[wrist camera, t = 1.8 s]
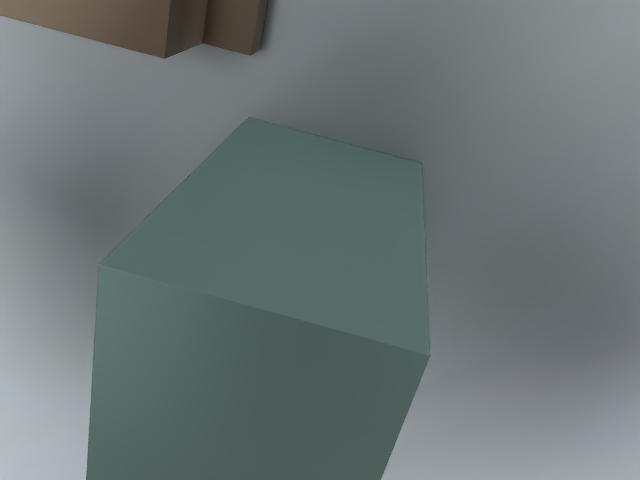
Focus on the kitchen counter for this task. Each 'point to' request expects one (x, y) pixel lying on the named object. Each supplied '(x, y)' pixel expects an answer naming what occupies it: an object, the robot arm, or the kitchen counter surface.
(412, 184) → the green block
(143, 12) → the divided brown tray
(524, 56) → the kitchen counter surface
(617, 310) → the kitchen counter surface
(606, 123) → the kitchen counter surface
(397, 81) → the kitchen counter surface
